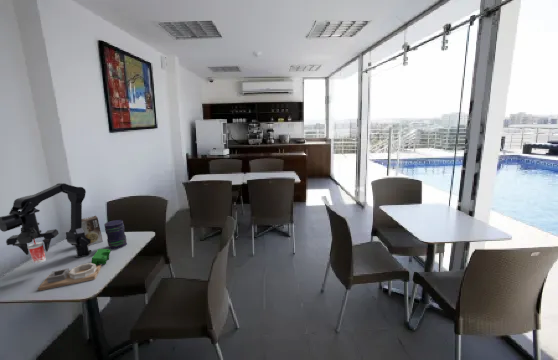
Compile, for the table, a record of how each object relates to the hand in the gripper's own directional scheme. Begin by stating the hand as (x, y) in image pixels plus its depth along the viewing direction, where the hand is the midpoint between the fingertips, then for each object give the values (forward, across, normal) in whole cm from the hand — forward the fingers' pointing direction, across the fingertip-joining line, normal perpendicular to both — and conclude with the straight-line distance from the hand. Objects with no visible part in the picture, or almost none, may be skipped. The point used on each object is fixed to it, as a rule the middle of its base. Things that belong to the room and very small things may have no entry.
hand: (37, 252), depth 135 cm
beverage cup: (+5, 0, 0) cm, 5 cm away
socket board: (+12, +16, -11) cm, 22 cm away
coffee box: (+12, +13, +34) cm, 39 cm away
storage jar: (+12, +29, +22) cm, 38 cm away
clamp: (+12, +26, +1) cm, 28 cm away
